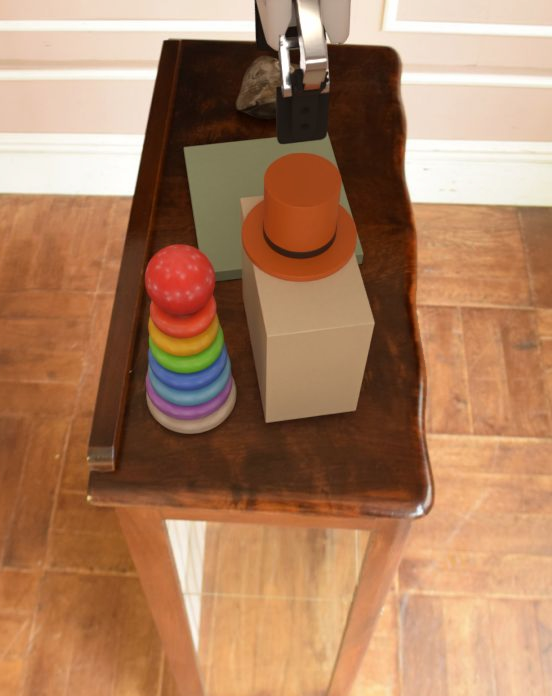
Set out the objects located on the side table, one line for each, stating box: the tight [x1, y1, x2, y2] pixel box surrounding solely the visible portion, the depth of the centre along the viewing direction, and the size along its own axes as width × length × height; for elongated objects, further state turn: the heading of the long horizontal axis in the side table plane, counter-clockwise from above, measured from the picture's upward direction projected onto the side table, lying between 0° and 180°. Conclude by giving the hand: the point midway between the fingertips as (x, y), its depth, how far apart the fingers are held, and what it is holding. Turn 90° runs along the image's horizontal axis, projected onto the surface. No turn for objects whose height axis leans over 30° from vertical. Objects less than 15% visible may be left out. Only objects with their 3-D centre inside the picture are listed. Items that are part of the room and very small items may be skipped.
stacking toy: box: [144, 243, 238, 435], centre depth 62 cm, size 8×8×19 cm
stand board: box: [183, 131, 364, 282], centre depth 81 cm, size 16×18×2 cm
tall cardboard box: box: [240, 195, 376, 424], centre depth 66 cm, size 8×14×14 cm, turn 9°
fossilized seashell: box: [234, 55, 301, 120], centre depth 88 cm, size 8×7×10 cm
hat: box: [242, 153, 358, 282], centre depth 58 cm, size 9×9×6 cm
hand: (289, 90), depth 53 cm, fingers open, 9 cm apart
